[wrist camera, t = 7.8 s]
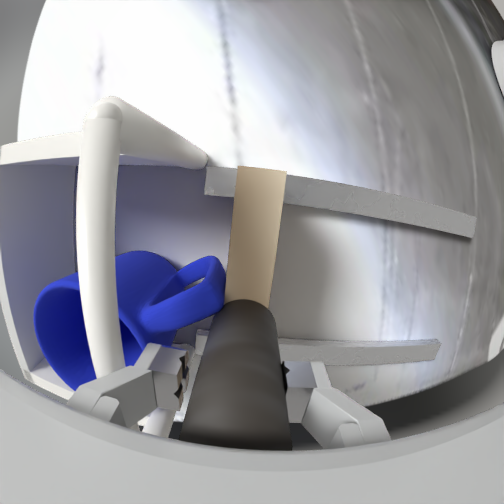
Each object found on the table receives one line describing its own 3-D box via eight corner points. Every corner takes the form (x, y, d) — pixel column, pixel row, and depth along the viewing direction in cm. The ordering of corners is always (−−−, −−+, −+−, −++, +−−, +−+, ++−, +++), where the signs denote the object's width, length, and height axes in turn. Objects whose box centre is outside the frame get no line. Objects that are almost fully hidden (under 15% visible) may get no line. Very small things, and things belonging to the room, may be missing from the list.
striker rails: (469, 215, 19) (476, 217, 18) (429, 354, 23) (434, 359, 22) (209, 167, 19) (206, 166, 18) (197, 348, 22) (195, 354, 21)
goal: (208, 149, 19) (123, 87, 5) (194, 359, 23) (155, 488, 10) (67, 150, 18) (-59, 144, 5) (75, 331, 22) (-4, 412, 9)
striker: (281, 178, 18) (366, 156, 4) (256, 361, 21) (257, 522, 7) (236, 172, 18) (181, 132, 4) (219, 357, 21) (191, 516, 7)
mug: (260, 294, 21) (259, 379, 11) (139, 342, 22) (89, 416, 13) (210, 196, 19) (162, 209, 9) (93, 263, 21) (15, 310, 11)
